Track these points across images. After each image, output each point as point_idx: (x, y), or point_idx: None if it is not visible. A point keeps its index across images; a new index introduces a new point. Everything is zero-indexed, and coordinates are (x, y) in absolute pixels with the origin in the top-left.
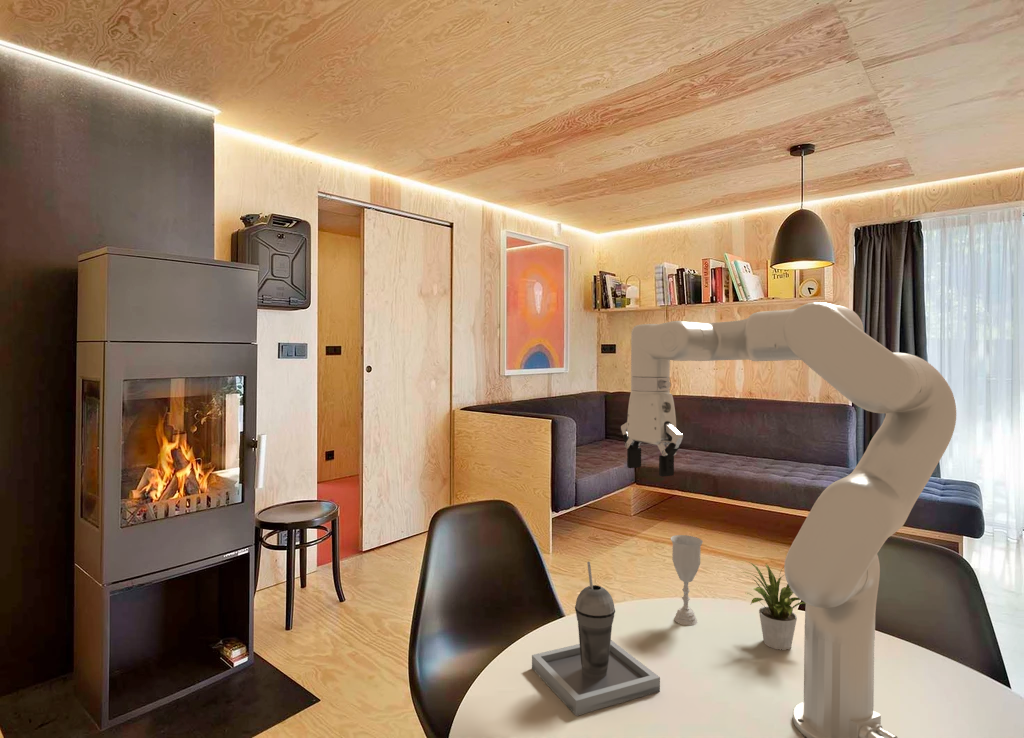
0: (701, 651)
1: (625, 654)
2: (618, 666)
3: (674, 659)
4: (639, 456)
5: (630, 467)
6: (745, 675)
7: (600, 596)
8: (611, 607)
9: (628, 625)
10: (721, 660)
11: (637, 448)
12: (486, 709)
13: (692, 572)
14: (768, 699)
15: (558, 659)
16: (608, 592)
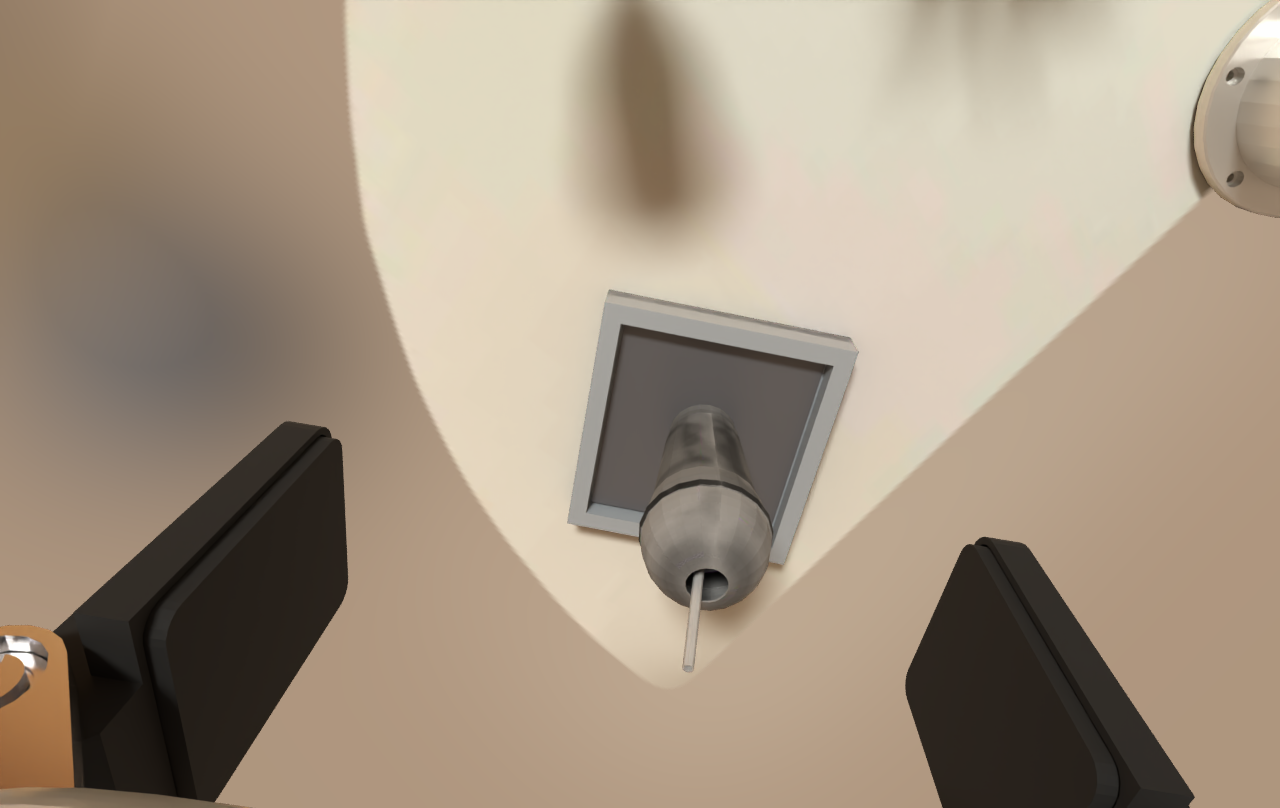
0: (806, 26)
1: (713, 336)
2: (721, 366)
3: (776, 160)
4: (259, 558)
5: (345, 587)
6: (995, 42)
7: (748, 588)
8: (769, 538)
9: (516, 97)
10: (889, 20)
11: (148, 695)
12: (649, 644)
13: None
14: (1103, 115)
15: (599, 462)
16: (736, 542)
